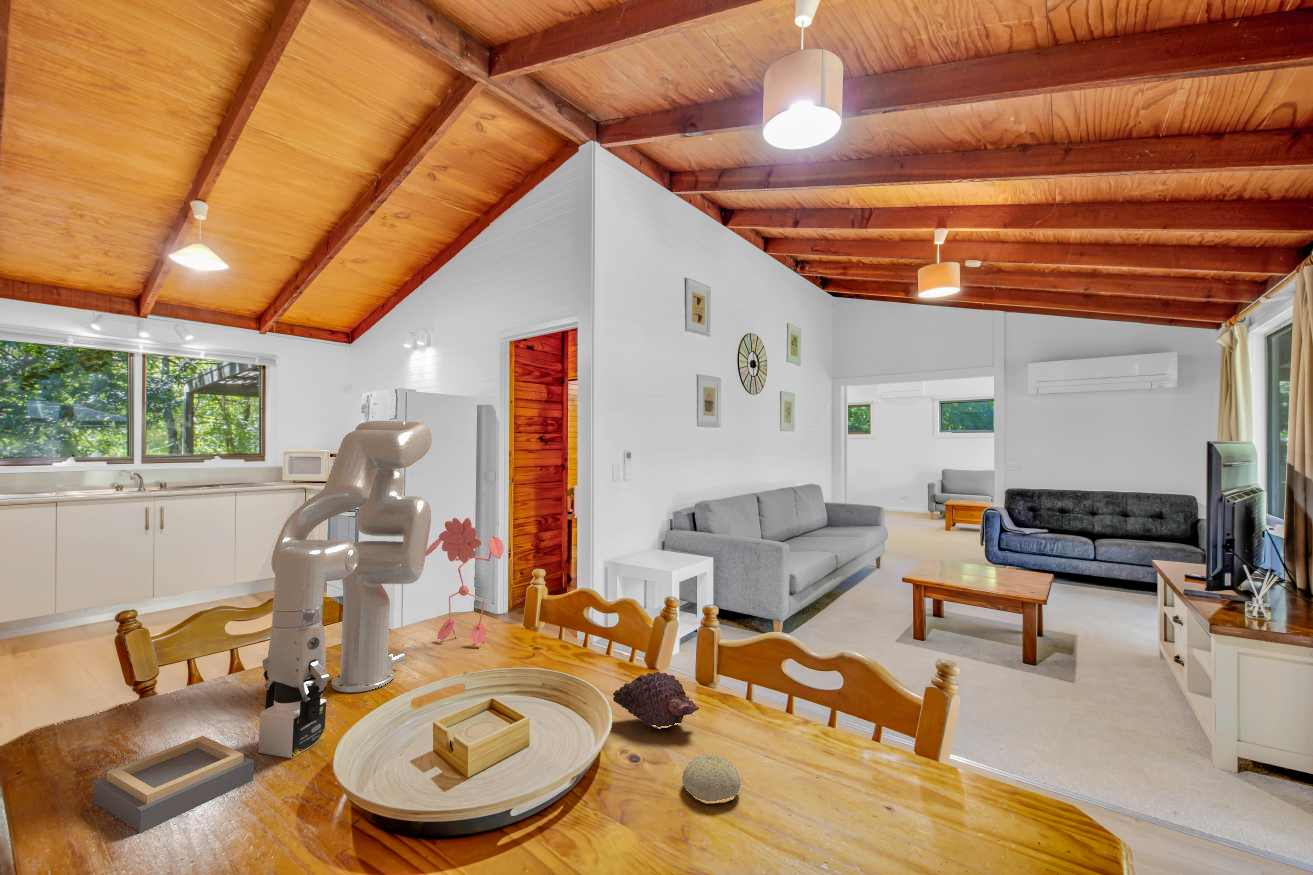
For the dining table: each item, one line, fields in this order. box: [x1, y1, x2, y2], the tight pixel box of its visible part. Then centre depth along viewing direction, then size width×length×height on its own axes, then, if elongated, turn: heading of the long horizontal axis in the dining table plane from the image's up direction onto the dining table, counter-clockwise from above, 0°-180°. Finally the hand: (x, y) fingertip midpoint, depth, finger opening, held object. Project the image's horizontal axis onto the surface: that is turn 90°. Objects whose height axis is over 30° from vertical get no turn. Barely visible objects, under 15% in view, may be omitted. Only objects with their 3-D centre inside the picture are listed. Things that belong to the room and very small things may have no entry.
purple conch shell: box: [612, 671, 700, 727], centre depth 109 cm, size 18×10×10 cm, turn 74°
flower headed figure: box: [425, 517, 505, 645], centre depth 148 cm, size 15×26×35 cm, turn 73°
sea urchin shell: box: [682, 753, 742, 801], centre depth 88 cm, size 9×8×8 cm
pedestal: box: [92, 735, 255, 834], centre depth 84 cm, size 14×14×4 cm
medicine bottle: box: [257, 678, 327, 759], centre depth 98 cm, size 7×7×12 cm
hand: (291, 715), depth 97 cm, fingers open, 9 cm apart
